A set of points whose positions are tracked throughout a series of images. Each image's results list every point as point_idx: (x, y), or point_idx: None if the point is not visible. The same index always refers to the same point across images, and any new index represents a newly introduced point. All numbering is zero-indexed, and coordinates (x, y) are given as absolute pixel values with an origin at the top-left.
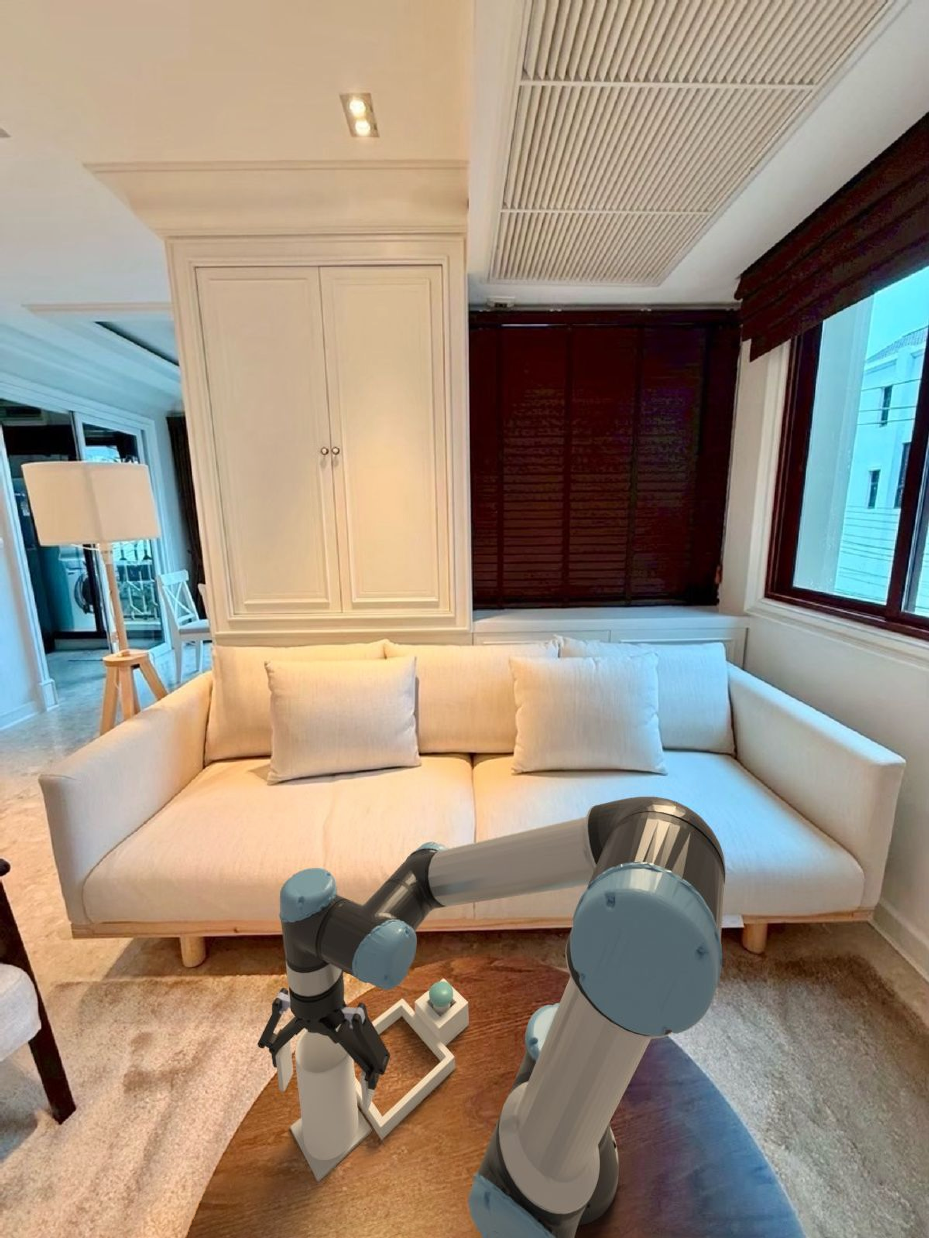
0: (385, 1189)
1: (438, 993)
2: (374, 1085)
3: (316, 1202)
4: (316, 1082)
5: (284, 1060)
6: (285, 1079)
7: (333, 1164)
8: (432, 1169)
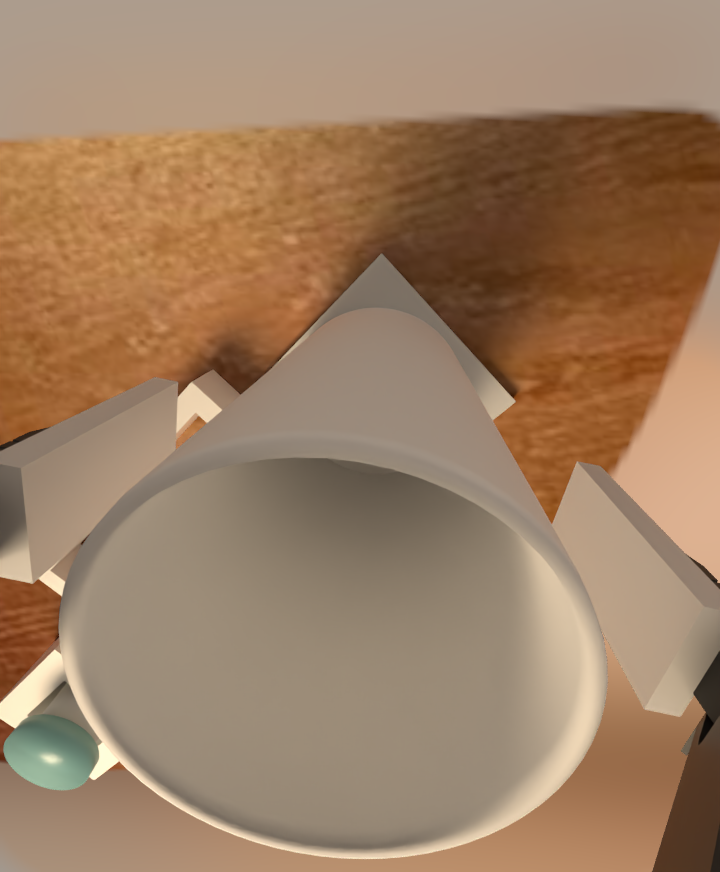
0: (162, 239)
1: (53, 757)
2: (26, 438)
3: (372, 196)
4: (322, 404)
5: (636, 582)
6: (587, 500)
7: (341, 297)
8: (40, 294)
